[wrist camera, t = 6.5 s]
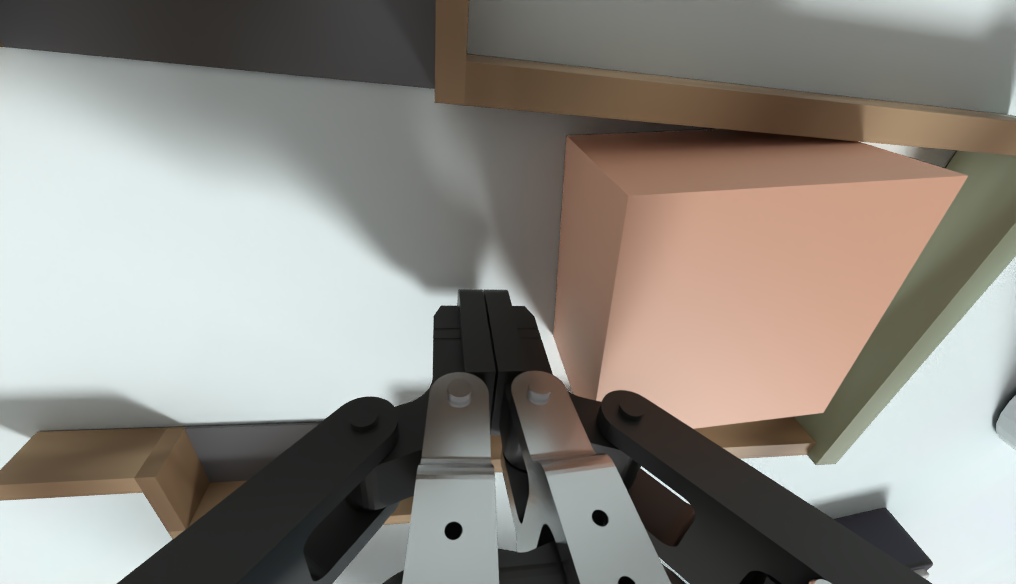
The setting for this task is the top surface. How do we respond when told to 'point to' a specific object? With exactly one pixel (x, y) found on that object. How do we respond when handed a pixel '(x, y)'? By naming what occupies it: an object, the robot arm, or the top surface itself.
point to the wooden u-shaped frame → (527, 87)
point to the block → (733, 265)
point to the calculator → (888, 538)
